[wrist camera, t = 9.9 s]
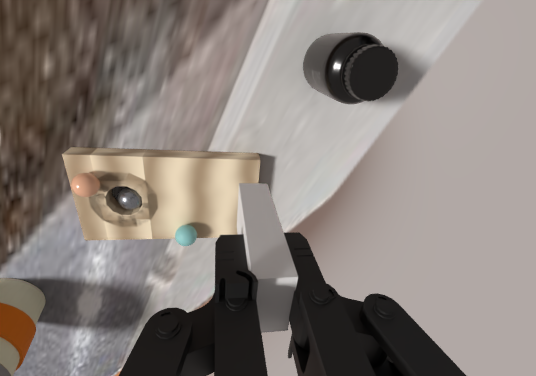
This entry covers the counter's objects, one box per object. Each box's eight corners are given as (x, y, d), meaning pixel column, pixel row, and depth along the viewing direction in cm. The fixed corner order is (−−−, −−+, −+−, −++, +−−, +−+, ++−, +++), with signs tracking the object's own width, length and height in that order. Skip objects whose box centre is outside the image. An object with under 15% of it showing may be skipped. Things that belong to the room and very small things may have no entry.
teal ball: (197, 220, 41) (195, 233, 38) (197, 236, 42) (196, 250, 40) (175, 220, 40) (173, 233, 38) (177, 237, 42) (174, 250, 39)
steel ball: (146, 184, 39) (135, 195, 36) (148, 203, 41) (138, 215, 38) (124, 181, 39) (111, 192, 36) (126, 200, 41) (115, 212, 38)
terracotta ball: (101, 168, 35) (92, 179, 32) (105, 189, 36) (97, 201, 34) (74, 168, 34) (63, 179, 32) (80, 189, 36) (69, 201, 33)
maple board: (258, 153, 40) (260, 160, 38) (251, 227, 46) (253, 236, 44) (71, 146, 36) (62, 154, 33) (91, 229, 42) (84, 240, 40)
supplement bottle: (348, 92, 38) (397, 114, 27) (299, 90, 37) (331, 113, 26) (358, 34, 35) (419, 34, 24) (305, 30, 33) (344, 29, 23)
